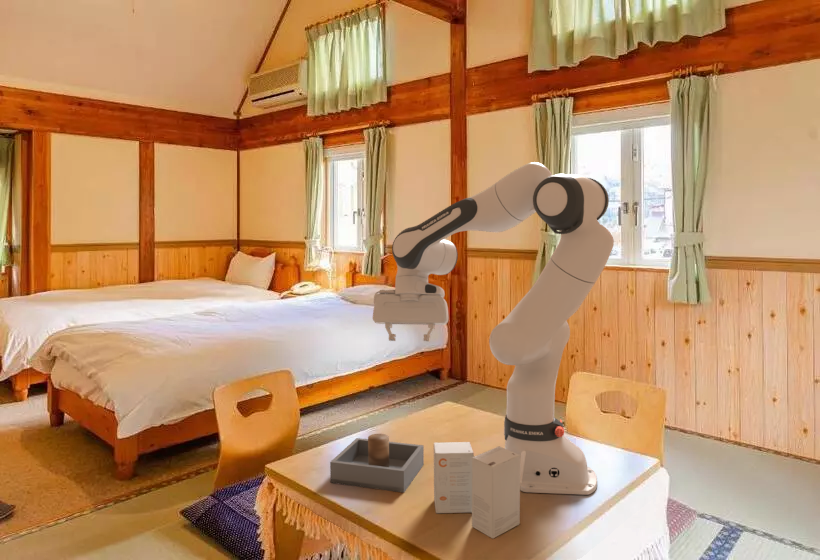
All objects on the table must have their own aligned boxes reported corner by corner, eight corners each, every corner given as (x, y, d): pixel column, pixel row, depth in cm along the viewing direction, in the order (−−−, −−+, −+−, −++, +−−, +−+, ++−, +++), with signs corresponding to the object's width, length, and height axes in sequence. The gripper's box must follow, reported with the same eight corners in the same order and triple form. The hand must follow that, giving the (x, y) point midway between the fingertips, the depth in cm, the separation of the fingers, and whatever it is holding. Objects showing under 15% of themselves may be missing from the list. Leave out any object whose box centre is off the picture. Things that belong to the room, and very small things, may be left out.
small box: (470, 499, 126) (470, 441, 125) (474, 513, 120) (474, 452, 119) (433, 499, 126) (433, 441, 125) (435, 513, 120) (434, 453, 119)
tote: (423, 464, 145) (423, 445, 144) (404, 492, 129) (403, 471, 129) (356, 456, 150) (356, 438, 149) (330, 482, 135) (330, 461, 134)
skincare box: (498, 514, 119) (499, 444, 118) (521, 526, 115) (522, 453, 113) (470, 528, 114) (470, 455, 113) (492, 540, 109) (493, 464, 108)
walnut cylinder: (392, 466, 141) (391, 434, 140) (385, 474, 136) (384, 442, 136) (372, 464, 143) (372, 432, 142) (365, 472, 138) (364, 439, 137)
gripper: (371, 287, 154) (368, 339, 152) (446, 287, 150) (444, 340, 147) (377, 292, 160) (374, 341, 158) (450, 292, 156) (448, 343, 153)
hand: (409, 341), depth 152 cm, fingers open, 8 cm apart
